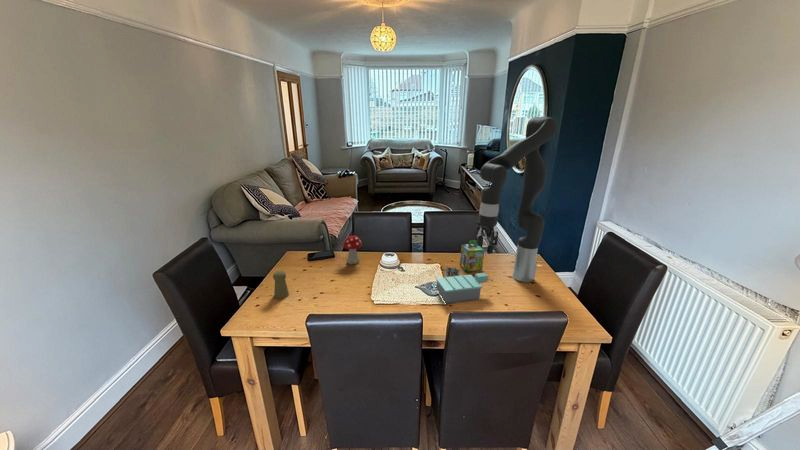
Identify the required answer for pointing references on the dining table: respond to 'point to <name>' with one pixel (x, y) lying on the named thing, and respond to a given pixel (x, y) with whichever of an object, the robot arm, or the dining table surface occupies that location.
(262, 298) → the dining table surface
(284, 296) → the olive pawn figure
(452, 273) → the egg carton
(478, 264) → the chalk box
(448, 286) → the lid
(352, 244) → the decorative mushroom
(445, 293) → the tub
